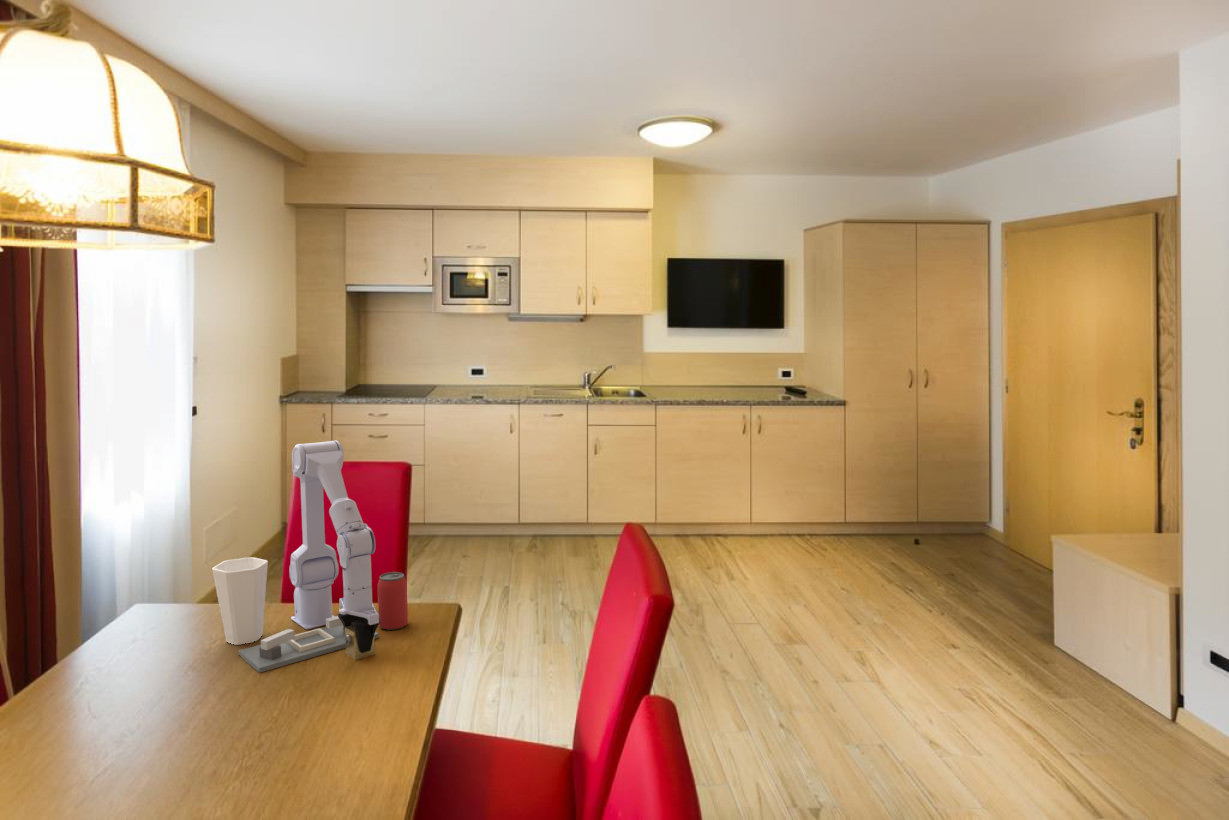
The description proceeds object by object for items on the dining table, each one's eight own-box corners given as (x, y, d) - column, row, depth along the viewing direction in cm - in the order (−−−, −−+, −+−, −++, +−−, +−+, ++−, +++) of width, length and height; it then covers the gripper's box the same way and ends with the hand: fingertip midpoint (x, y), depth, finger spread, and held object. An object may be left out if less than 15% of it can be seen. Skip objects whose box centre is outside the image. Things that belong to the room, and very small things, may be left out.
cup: (255, 648, 174) (251, 572, 172) (208, 648, 174) (204, 572, 172) (277, 629, 185) (274, 557, 183) (234, 629, 185) (230, 557, 183)
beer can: (414, 623, 188) (412, 574, 186) (392, 633, 182) (390, 582, 181) (394, 618, 191) (392, 569, 190) (372, 627, 186) (370, 577, 184)
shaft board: (238, 655, 170) (237, 632, 170) (354, 623, 188) (353, 603, 187) (259, 672, 162) (257, 649, 161) (378, 638, 179) (378, 616, 179)
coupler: (343, 654, 170) (342, 627, 170) (368, 647, 174) (366, 620, 173) (352, 661, 167) (351, 633, 166) (377, 653, 171) (376, 626, 170)
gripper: (324, 582, 171) (327, 643, 173) (355, 598, 161) (357, 663, 162) (355, 574, 176) (358, 634, 178) (387, 590, 166) (389, 653, 167)
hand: (360, 647), depth 170 cm, fingers closed on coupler, 4 cm apart
